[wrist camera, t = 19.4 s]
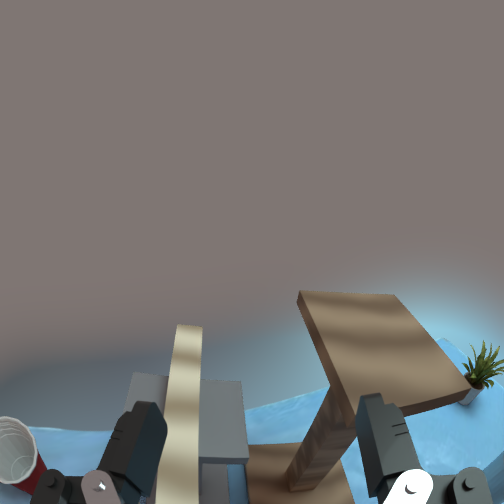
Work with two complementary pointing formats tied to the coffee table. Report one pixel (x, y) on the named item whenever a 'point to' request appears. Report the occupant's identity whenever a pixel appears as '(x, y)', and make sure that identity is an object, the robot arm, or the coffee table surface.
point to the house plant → (480, 373)
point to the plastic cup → (19, 456)
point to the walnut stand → (352, 392)
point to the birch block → (182, 421)
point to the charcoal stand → (204, 430)
